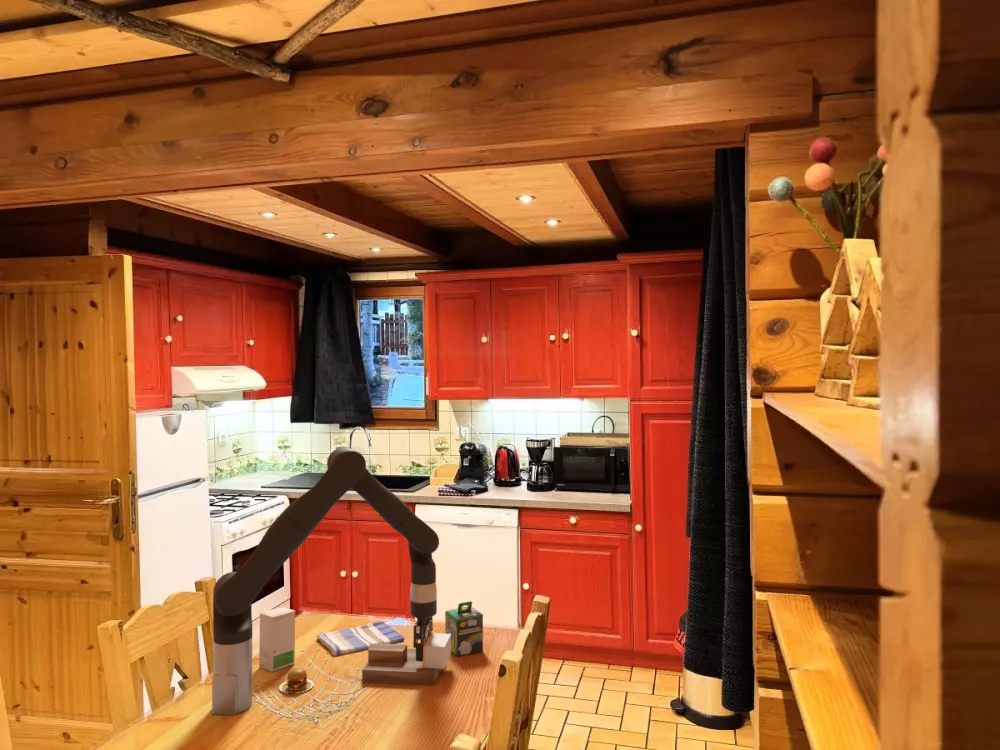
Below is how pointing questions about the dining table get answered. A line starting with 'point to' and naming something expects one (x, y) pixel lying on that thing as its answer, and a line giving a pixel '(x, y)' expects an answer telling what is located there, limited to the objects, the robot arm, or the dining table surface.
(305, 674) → the hamburger
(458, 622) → the chalk box
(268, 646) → the skincare box
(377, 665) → the step stand
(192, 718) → the dining table surface
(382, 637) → the dish towel
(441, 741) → the dining table surface
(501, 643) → the dining table surface
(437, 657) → the brick
